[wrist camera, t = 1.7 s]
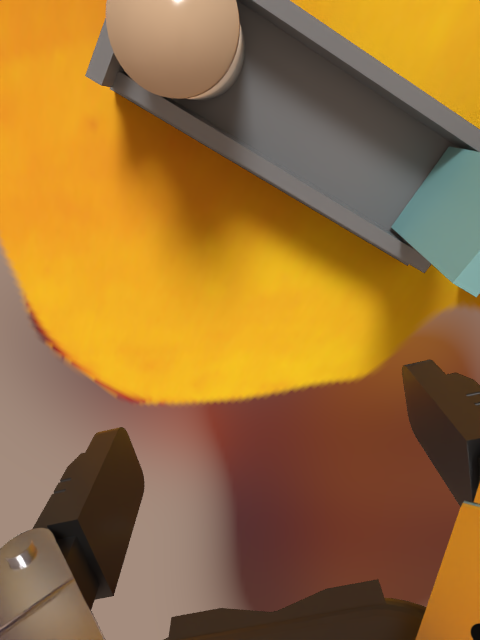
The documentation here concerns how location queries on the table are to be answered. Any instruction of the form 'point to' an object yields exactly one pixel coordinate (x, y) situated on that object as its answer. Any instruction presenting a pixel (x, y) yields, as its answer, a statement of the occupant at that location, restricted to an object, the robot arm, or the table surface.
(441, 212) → the block
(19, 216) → the table surface
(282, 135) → the lane
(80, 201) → the table surface
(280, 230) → the table surface
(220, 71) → the beige domed canister
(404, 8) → the table surface
